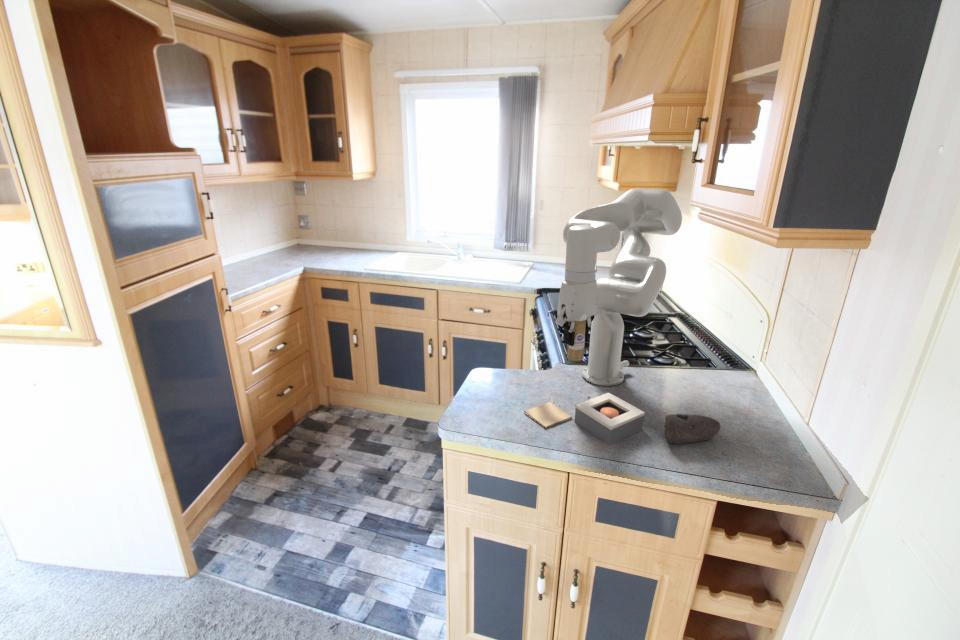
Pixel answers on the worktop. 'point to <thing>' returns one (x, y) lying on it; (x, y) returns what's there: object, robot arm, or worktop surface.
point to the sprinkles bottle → (578, 340)
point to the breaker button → (609, 412)
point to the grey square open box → (604, 426)
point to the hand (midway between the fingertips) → (576, 341)
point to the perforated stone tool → (689, 428)
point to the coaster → (548, 414)
